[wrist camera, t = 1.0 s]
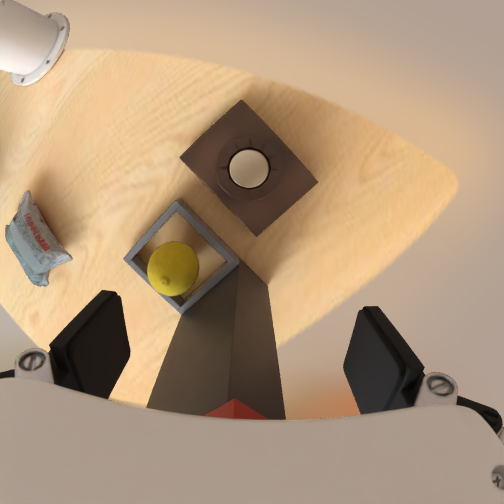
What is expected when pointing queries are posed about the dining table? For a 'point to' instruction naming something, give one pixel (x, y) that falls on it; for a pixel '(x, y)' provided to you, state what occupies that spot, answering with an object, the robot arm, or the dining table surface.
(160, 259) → the lemon
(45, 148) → the dining table surface
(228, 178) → the block
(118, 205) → the dining table surface
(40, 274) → the packaged food
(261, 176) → the button
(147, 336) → the dining table surface
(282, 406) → the stand
